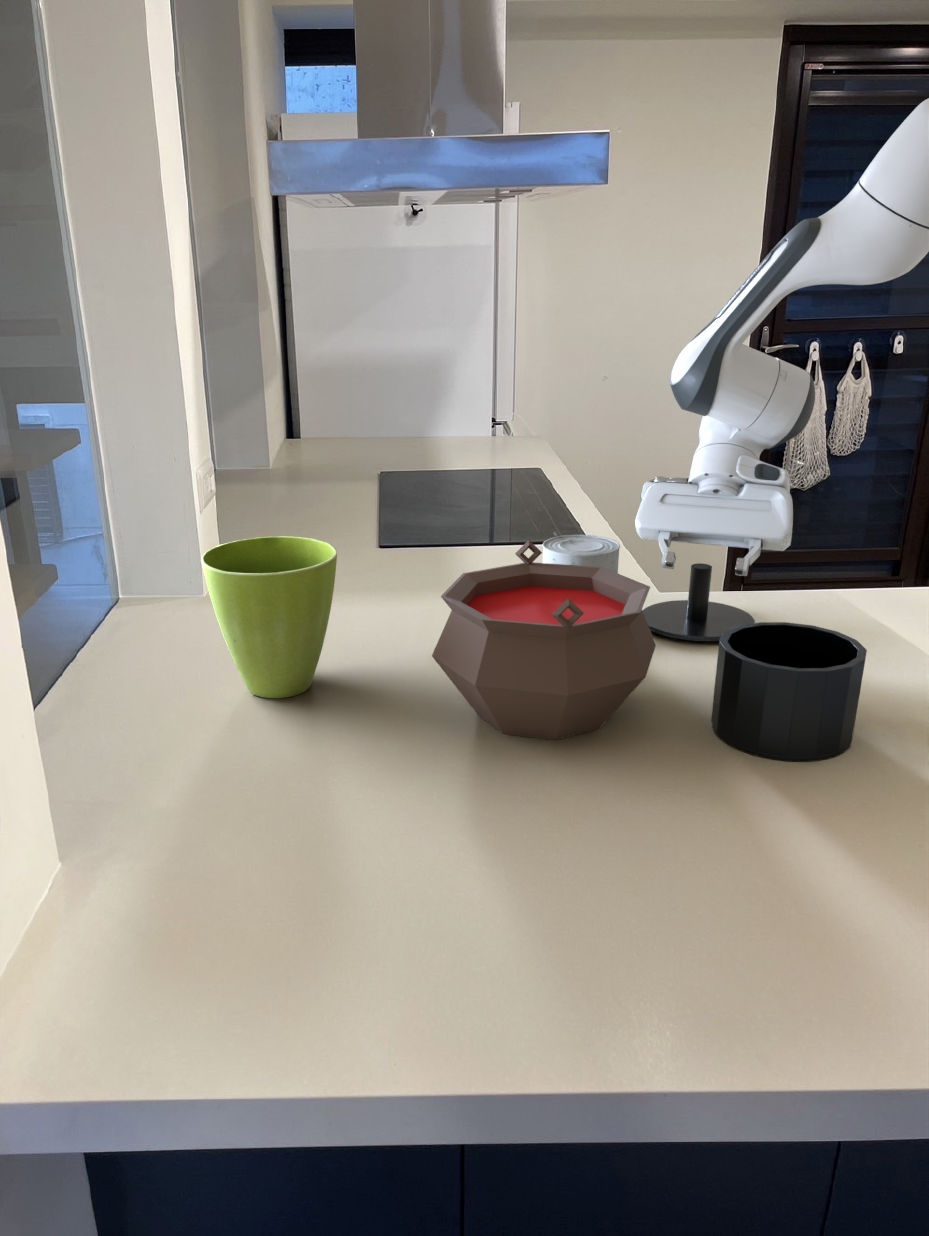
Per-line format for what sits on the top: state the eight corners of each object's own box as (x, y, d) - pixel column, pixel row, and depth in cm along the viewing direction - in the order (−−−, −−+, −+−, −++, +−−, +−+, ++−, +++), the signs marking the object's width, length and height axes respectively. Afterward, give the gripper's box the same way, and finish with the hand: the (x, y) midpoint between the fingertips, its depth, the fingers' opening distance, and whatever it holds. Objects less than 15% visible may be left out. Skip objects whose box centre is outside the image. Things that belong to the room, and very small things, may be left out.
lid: (738, 607, 140) (744, 550, 136) (767, 645, 126) (775, 582, 123) (631, 608, 140) (635, 551, 137) (649, 646, 127) (653, 583, 124)
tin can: (614, 626, 134) (619, 535, 129) (614, 652, 125) (620, 555, 121) (542, 623, 136) (544, 533, 131) (537, 648, 127) (540, 553, 122)
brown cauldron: (686, 755, 100) (700, 597, 93) (443, 768, 98) (441, 609, 92) (622, 665, 122) (631, 531, 115) (424, 674, 120) (421, 540, 114)
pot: (826, 704, 110) (838, 621, 106) (872, 762, 97) (888, 670, 94) (699, 704, 111) (707, 622, 107) (729, 761, 98) (739, 671, 94)
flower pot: (366, 693, 115) (360, 558, 109) (244, 724, 109) (230, 581, 102) (310, 654, 127) (302, 529, 121) (197, 679, 120) (182, 549, 114)
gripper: (643, 462, 138) (622, 550, 134) (801, 471, 130) (784, 565, 126) (647, 488, 144) (627, 573, 139) (799, 498, 136) (783, 589, 132)
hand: (703, 570), depth 133 cm, fingers open, 8 cm apart
